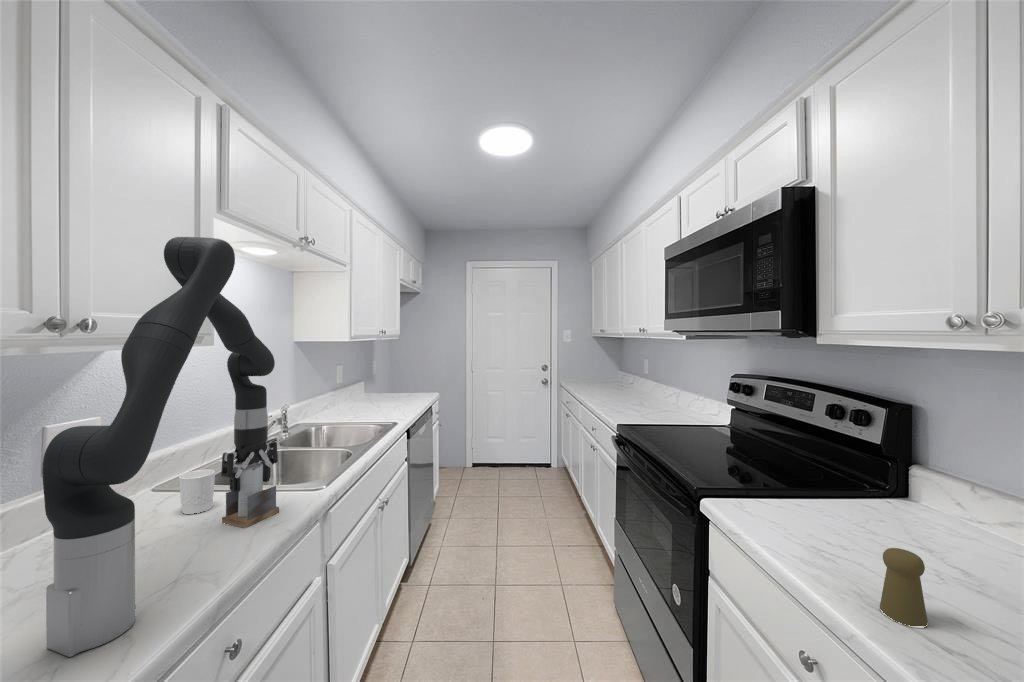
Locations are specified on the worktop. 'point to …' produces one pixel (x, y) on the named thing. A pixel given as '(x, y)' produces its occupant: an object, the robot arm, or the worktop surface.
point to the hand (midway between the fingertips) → (251, 486)
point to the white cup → (197, 491)
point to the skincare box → (249, 486)
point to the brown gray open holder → (251, 508)
